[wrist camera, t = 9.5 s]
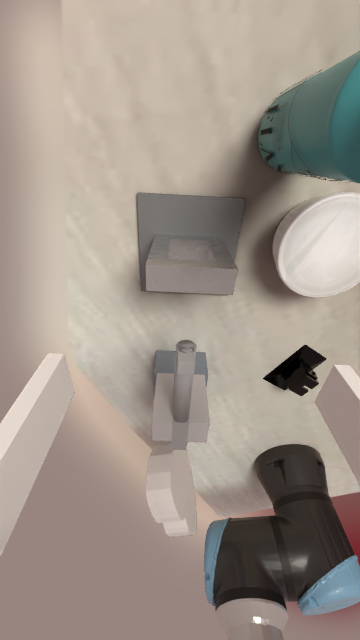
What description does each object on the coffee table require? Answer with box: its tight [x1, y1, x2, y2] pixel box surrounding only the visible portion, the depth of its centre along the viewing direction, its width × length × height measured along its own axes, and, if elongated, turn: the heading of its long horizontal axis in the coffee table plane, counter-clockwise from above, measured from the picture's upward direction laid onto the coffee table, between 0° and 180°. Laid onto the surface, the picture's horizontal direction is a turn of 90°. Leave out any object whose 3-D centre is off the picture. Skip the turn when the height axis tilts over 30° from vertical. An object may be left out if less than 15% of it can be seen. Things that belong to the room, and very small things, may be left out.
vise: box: [152, 340, 210, 450], centre depth 35 cm, size 21×8×14 cm, turn 177°
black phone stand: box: [263, 345, 326, 396], centre depth 41 cm, size 12×7×5 cm, turn 146°
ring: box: [146, 234, 238, 295], centre depth 26 cm, size 2×8×10 cm, turn 87°
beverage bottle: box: [257, 51, 360, 183], centre depth 17 cm, size 6×7×20 cm
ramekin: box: [273, 192, 360, 298], centre depth 29 cm, size 11×11×5 cm
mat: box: [137, 193, 245, 295], centre depth 31 cm, size 12×12×1 cm
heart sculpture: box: [146, 441, 197, 537], centre depth 43 cm, size 16×5×18 cm, turn 15°
